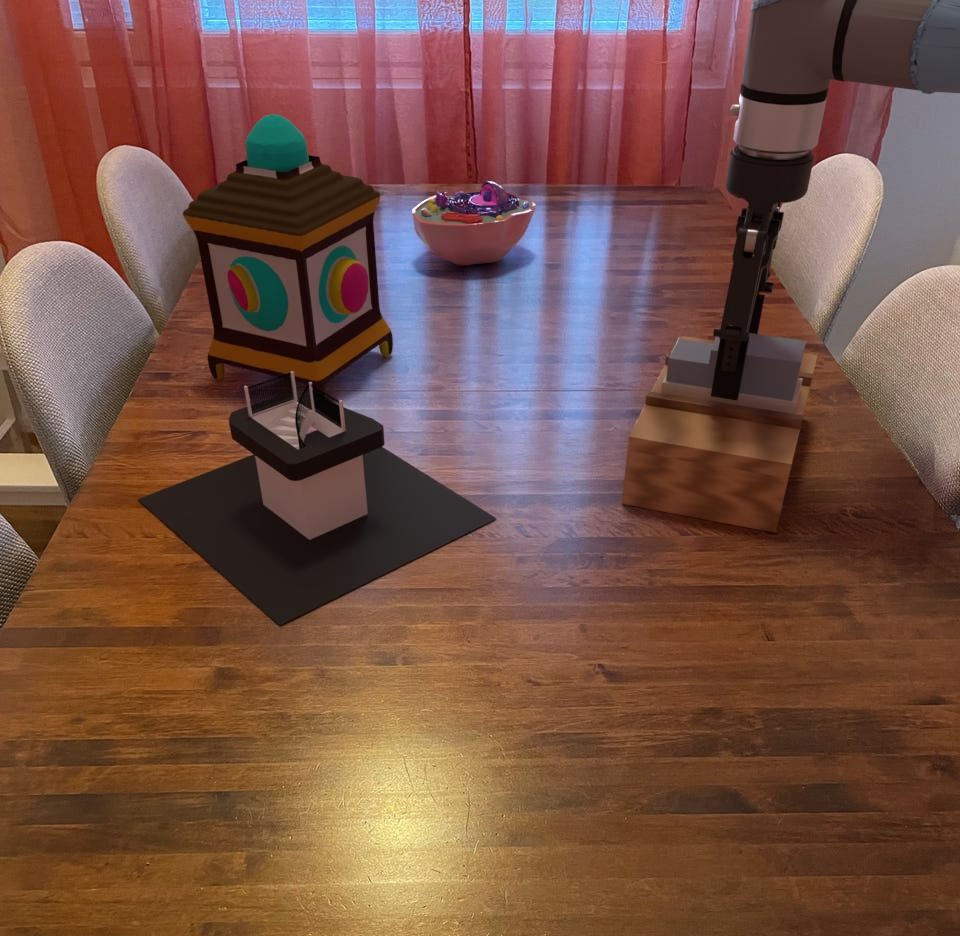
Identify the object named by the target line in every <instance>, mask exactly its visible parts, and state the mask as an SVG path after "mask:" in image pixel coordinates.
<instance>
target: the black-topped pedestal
mask: <svg viewBox="0 0 960 936" xmlns="http://www.w3.org/2000/svg"><path fill="white" fill-rule="evenodd" d="M287 375H288V377H289V375H290V378H289V379H288V378H287V379H286V376H287ZM284 376H285V379H284ZM282 377H283V378H282ZM243 389H244V395H245V402H246V406H244V407H242V408H239V409H236V410H233V411H231V412H230V414H229V417H228V424H229V425H228V426H229V430H230V435H231V436H230V437H231V439H232V440H233V441H234V442H236V443H237V444H239V445H240V446H241V447H243V448H244V449H245V450H247V451H248V452H250V453H251V454H250V455H248V456H246V457H244V458H240V459H238V460H235V461H233V462H231V463H228V464H225V465H222V466H220V467H217V468H214V469H212V470H209V471H207V472H204V473H201V474H199V475H197V476H194V477H191V478H188V479H186V480H183V481H180V482H178V483H175V484H173V485H171V486H168V487H165V488H163V489H160V490H157V491H154V492H152V493H150V494H147V495H144V496H142V497H139V498H137V500H138V501H139V502H140V504H142V505H143V506H144V507H145V508H147V509H148V511H150V512H151V513H153V514H154V515H155V517H157V518H158V519H159V520H160V521H161V522H163V523H164V525H166V526H167V527H168V528H169V529H170V530H171V531H173V532H174V533H175V534H176V535H177V536H178V537H180V539H181V540H183V541H184V542H185V543H186V544H187V545H189V546H190V547H191V548H192V549H193V550H194V552H196V553H198V554H199V555H200V556H201V557H202V558H203V559H205V560H206V562H208V563H209V564H210V565H211V566H213V567H214V569H215V570H217V571H218V572H219V573H220V574H221V575H222V576H223V577H225V578H226V579H227V580H228V581H229V582H230V583H232V585H234V587H236V588H237V589H238V590H239V591H240V592H241V593H243V594H244V595H245V596H246V597H247V598H249V600H250V601H251V602H253V603H254V604H255V605H256V606H257V607H259V608H260V610H262V611H263V612H264V613H265V614H267V616H269V617H270V618H271V619H272V620H273V621H274V622H276V623H277V624H278V625H279V626H282V625H283V624H286V623H288V622H290V621H291V620H292V621H293V620H294V619H296V618H299V617H300V616H302V615H304V614H307V613H308V612H311V611H313V610H314V609H316V608H319V607H320V606H322V605H324V604H326V603H328V602H330V601H332V600H335V599H337V598H339V597H341V596H343V595H345V594H347V593H349V592H351V591H353V590H354V589H357V588H359V587H361V586H363V585H365V584H367V583H369V582H371V581H373V580H375V579H377V578H379V577H381V576H383V575H385V574H387V573H389V572H392V571H394V570H395V569H398V568H400V567H402V566H404V565H405V564H407V563H409V562H411V561H413V560H415V559H418V558H420V557H422V556H424V555H426V554H428V553H429V552H432V551H434V550H435V549H438V548H440V547H442V546H444V545H446V544H448V543H450V542H452V541H454V540H457V539H458V538H460V537H462V536H464V535H466V534H468V533H470V532H472V531H475V530H476V529H478V528H480V527H482V526H484V525H487V524H489V523H491V522H492V521H495V520H496V519H498V518H497V517H495V516H494V515H492V514H491V513H489V512H488V511H486V510H484V509H483V508H482V507H479V506H478V505H477V504H474V503H473V502H472V501H470V500H469V499H467V498H465V497H463V496H462V495H461V494H459V493H458V492H455V491H454V490H453V489H451V488H449V487H447V486H446V485H444V484H443V483H441V482H440V481H438V480H436V479H434V478H432V477H431V476H430V475H428V474H426V473H425V472H423V471H422V470H421V469H419V468H417V467H415V466H414V465H412V464H410V463H409V462H407V461H406V460H404V459H402V458H401V457H399V456H398V455H396V454H394V453H393V452H391V451H390V450H388V449H387V448H385V447H384V446H385V443H386V442H385V428H384V424H382V423H380V422H379V421H377V420H375V419H374V418H372V417H369V416H367V415H365V414H362V413H360V412H357V411H356V410H355V411H354V410H352V409H350V408H347V407H345V406H344V401H343V400H342V399H337V398H336V397H334V396H332V395H330V394H329V393H328V392H324V391H322V390H321V389H319V388H317V387H316V386H314V385H312V382H309V384H308V385H306V387H305V389H304V390H303V391H302V390H297V385H296V381H295V377H294V372H293V371H291V372H290V373H287V374H284V375H281V376H279V377H276V376H275V377H273V378H270V379H267V380H264V381H262V382H258V383H255V384H253V385H249V386H248V385H244V386H243ZM308 389H309V392H308ZM313 389H317V390H318V391H317V392H315V391H314V390H313ZM317 393H318V394H317ZM323 393H324V394H325V396H322V395H320V394H323ZM315 394H316V395H315ZM324 398H325V399H324ZM311 427H312V428H314V429H315V430H314V431H310V432H309V430H310V429H311Z"/></svg>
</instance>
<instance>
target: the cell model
mask: <svg viewBox="0 0 960 936" xmlns="http://www.w3.org/2000/svg"><path fill="white" fill-rule="evenodd" d="M536 207H537V205H536V203H535V202H534V201H533V200H531V199H529V198H526V197H524V196H522V195H520V194H516V193H514V192H513V193H512V192H508V191H506V190H505V188H504V187H503V186H501V184H499V183H497V182H495V181H490V180H489V181H488V180H486V181H484V182H483V183H482V184H481V187H480V188H476V189H466V190H465V189H464V190H450V191H444V192H440V191H437V192H436V194H435V195H433V196H429V197H428V198H426V199H425V200H423V201H421V202H420V203H418V204H417V205H415V206H414V207H413V208H412V209H411V214H412V222H413V228H414V232H415V234H416V236H417V237H418V238H419V240H420V241H421V242H422V243H423V244H424V245H425V246H426V247H427V248H428V250H430V252H432V253H433V255H435V256H437V257H439V258H440V259H442V260H444V261H447V262H450V263H451V264H453V265H456V266H472V265H482V264H483V265H485V264H492V263H496V262H500V261H501V260H502V259H504V258H505V257H506V256H507V255H508V254H509V253H510V252H511V251H512V249H514V248H515V247H516V245H517V244H518V243H519V242H520V241H521V240H522V239H523V237H524V236H525V234H526V232H527V230H528V229H529V226H530V224H531V221H532V219H533V216H534V213H535V211H536Z"/></svg>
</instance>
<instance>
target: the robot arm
mask: <svg viewBox="0 0 960 936" xmlns="http://www.w3.org/2000/svg"><path fill="white" fill-rule="evenodd" d="M748 28H749V29H748V34H747V42H746V48H745V55H744V63H743V64H744V65H743V70H742V78H741V84H740V89H739V93H740V94H739V97H738V98H739V99H738V101H739V102H738V103H733V104H732V105H731V107H730V108H729V113H730V114H731V115H732V116H733V117H738V119H737V120H736V121H735V125H734V130H733V138H732V139H733V141H734V143H735V144H736V145H735V146H734V147H733V149H732V150H730V153H729V161H728V167H727V173H726V179H725V189H726V191H727V192H728V193H729V195H731V196H733V197H734V198H736V199H743V200H744V201H746V202H747V207H742V209H741V213H740V215H738V217H737V221H736V227H735V234H736V239H735V243H734V248H733V252H732V257H731V259H732V268H731V273H730V278H729V283H728V288H727V293H726V299H725V304H724V308H723V313H722V318H721V325H720V327H719V328H714V329H713V335H712V337H715V338H716V337H719V338H720V342H719V348H718V354H717V360H716V367H715V373H714V379H713V385H712V391H711V397H718V398H724V399H731V400H738V396H739V391H740V386H741V380H742V375H743V369H744V364H745V359H746V353H747V348H748V342H749V337H750V336H749V333H753V334H759V329H760V325H761V323H760V322H761V319H762V314H763V313H762V312H763V309H764V303H765V298H766V295H765V294H772V293H773V289H774V286H775V285H774V282H772V281H771V282H769V278H770V277H771V272H772V271H771V267H772V259H773V253H774V250H775V249H776V247H777V243H778V239H779V233H780V231H781V230H782V227H783V221H784V215H785V212H784V211H781V206H782V203H783V204H788V203H793V202H796V201H798V200H801V199H802V198H804V197H805V195H806V194H807V193H808V190H809V185H810V181H811V177H812V170H813V165H814V160H815V156H814V154H813V152H812V150H814V148H815V147H817V146H818V143H819V138H820V134H821V129H822V124H823V119H824V115H825V109H826V106H827V105H826V104H827V100H828V97H827V96H828V92H829V85H830V82H831V80H834V81H837V82H844V83H845V82H850V83H857V84H865V85H873V86H881V87H888V88H895V89H904V90H911V91H919V92H921V93H922V94H925V95H932V94H935V93H944V94H945V93H948V94H960V0H753V2H752V3H751V4H750V18H749V27H748ZM760 293H765V294H760Z"/></svg>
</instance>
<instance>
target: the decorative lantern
mask: <svg viewBox="0 0 960 936" xmlns="http://www.w3.org/2000/svg"><path fill="white" fill-rule="evenodd" d="M245 153H246V159H245V160H242V161H240V162H238V163H235V171H232V172H229V174H228V175H227V177H226V180H223V181H221V182H219V184H217V185H215V186H213V187H210V188H207V189H206V190H202V191H201V192H200V193H199V194H198V195H197V197H196V198H195V199H194V200H192V201H190V202H189V203H188V207H187V208H185V209H184V210H183V212H182V216H183V218H184V220H185V222H186V223H187V225H188V226H189V227H190V229H191V230H192V232H193V234H194V235H195V238H196V241H197V246H198V253H199V258H200V262H201V263H200V264H201V268H202V272H203V279H204V284H205V285H204V286H205V289H206V295H207V300H208V306H209V311H210V317H211V320H212V328H213V334H212V335H213V336H212V339H211V343H210V345H209V349H208V352H207V364H208V368H209V371H210V374H211V376H212V378H213V379H215V380H216V381H221V380H222V379H223V378H224V377H225V365H228V366H230V367H231V366H232V367H235V368H239V369H243V370H247V371H252V372H255V373H260V374H264V375H268V376H272V377H275V378H276V377H279V376H281V375H284V374H287V373H290V372H291V371H293V372H294V377H295V383H301V384H304V385H305V386H307V385H308V384H309V382H312V385H314V386H316V387H317V388H319V389H321V390H322V391H324V392H326V389H327V385H328V383H329V382H330V381H331V380H332V379H334V377H336V376H337V375H339V374H340V373H341V372H343V371H345V370H346V369H347V368H349V367H350V366H352V365H353V364H354V363H355V362H358V361H359V360H360V359H361V358H363V357H364V356H365V355H367V354H369V353H370V352H371V351H372V350H374V349H376V348H377V347H378V348H379V352H380V354H381V356H383V357H384V358H388V357H390V356H391V355H392V353H393V349H394V340H393V339H394V338H393V332H392V330H391V328H390V327H389V325H388V323H387V322H386V320H385V318H384V316H383V314H382V312H381V307H380V297H379V283H378V281H379V280H378V269H377V268H378V267H377V253H376V239H375V226H374V225H375V224H374V219H375V218H374V217H375V214H376V210H377V208H378V205H379V203H380V199H381V193H380V192H379V191H377V190H375V189H374V188H373V186H372V185H371V184H367V183H364V181H363V180H362V179H361V178H359V177H356V176H350V175H344V174H342V173H341V172H340V171H336V170H333V169H332V167H331V166H330V165H329V164H324V163H322V162H321V157H320V156H317V155H310V154H309V151H308V144H307V141H306V138H305V136H304V134H303V133H302V132H301V131H300V130H299V129H298V128H297V127H296V126H295V125H294V124H293V122H292V121H290V120H289V119H288V118H286V117H284V116H282V115H281V114H268V115H267V114H266V115H264V116H262V118H261V119H259V120H258V121H257V122H256V123H255V124H254V126H253V127H252V128H251V130H250V131H249V133H248V134H247V137H246V140H245ZM287 378H288V379H289V378H290V375H289V377H288V375H287V376H286V380H287ZM281 379H283V377H282V378H281ZM283 380H285V376H284V379H283ZM313 390H314V391H315V392H317V391H318V390H317V389H313ZM326 393H327V392H326ZM317 394H318V393H317ZM315 395H316V394H315ZM320 395H322V396H325V394H324V393H323V394H320ZM324 399H325V398H324Z"/></svg>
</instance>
